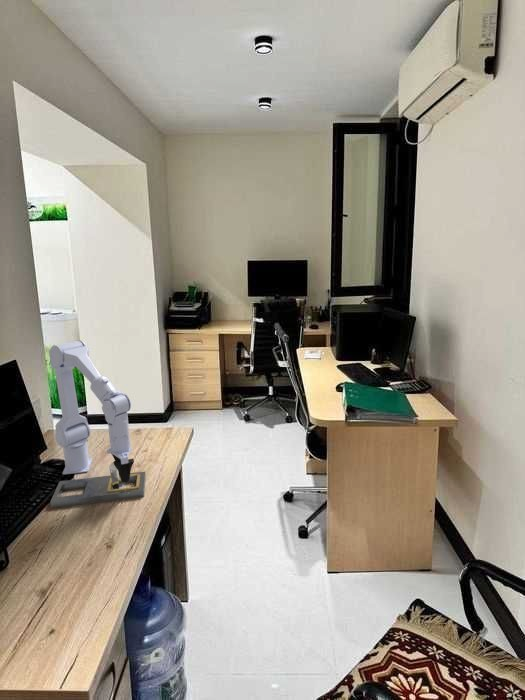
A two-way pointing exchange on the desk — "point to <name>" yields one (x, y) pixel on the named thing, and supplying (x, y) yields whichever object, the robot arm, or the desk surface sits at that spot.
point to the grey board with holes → (97, 490)
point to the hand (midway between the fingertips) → (123, 475)
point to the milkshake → (115, 477)
